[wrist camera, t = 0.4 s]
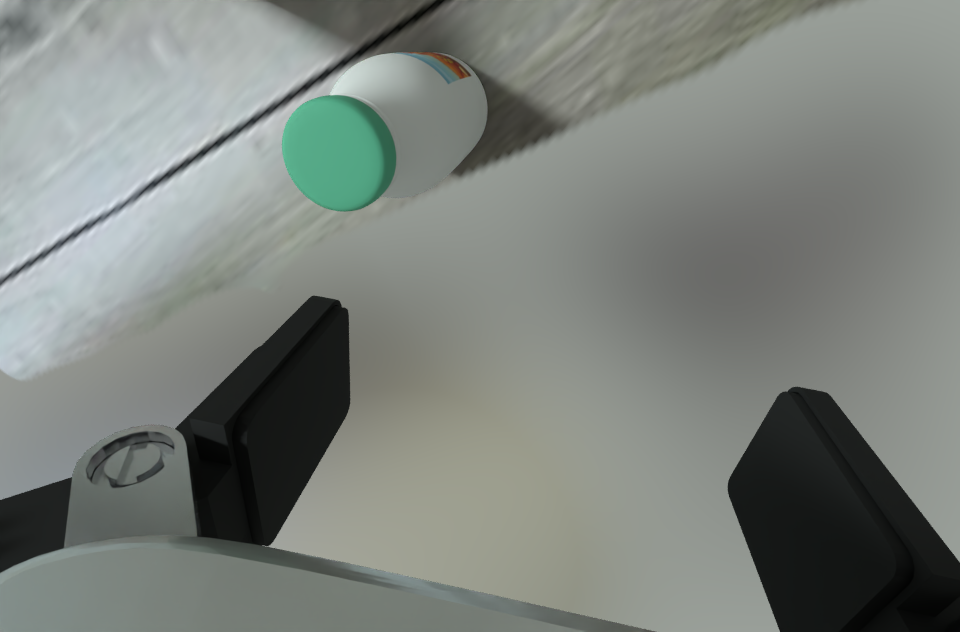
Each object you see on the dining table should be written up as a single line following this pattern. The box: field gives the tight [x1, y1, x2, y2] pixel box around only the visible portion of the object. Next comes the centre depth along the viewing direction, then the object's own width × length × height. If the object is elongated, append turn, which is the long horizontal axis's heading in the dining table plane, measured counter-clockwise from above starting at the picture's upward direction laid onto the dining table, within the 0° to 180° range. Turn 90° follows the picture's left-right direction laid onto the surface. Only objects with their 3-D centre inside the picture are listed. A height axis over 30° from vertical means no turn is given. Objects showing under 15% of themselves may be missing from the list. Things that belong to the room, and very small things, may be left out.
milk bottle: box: [282, 52, 488, 211], centre depth 28 cm, size 8×8×20 cm
